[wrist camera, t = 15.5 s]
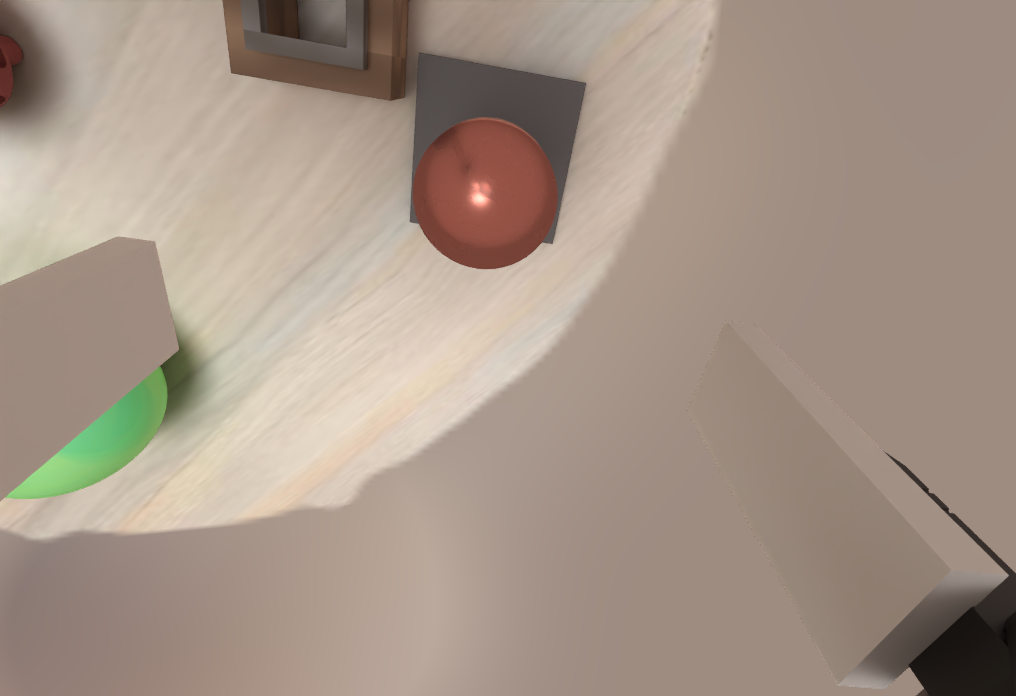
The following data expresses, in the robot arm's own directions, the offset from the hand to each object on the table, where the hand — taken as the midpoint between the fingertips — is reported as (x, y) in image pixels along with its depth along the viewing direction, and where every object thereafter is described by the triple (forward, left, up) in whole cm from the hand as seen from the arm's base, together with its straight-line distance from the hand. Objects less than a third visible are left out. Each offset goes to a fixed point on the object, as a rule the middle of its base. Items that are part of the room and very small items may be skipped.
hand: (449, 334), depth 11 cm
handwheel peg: (0, 0, -29) cm, 29 cm away
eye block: (-8, -12, -30) cm, 33 cm away
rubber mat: (0, 0, -30) cm, 30 cm away
